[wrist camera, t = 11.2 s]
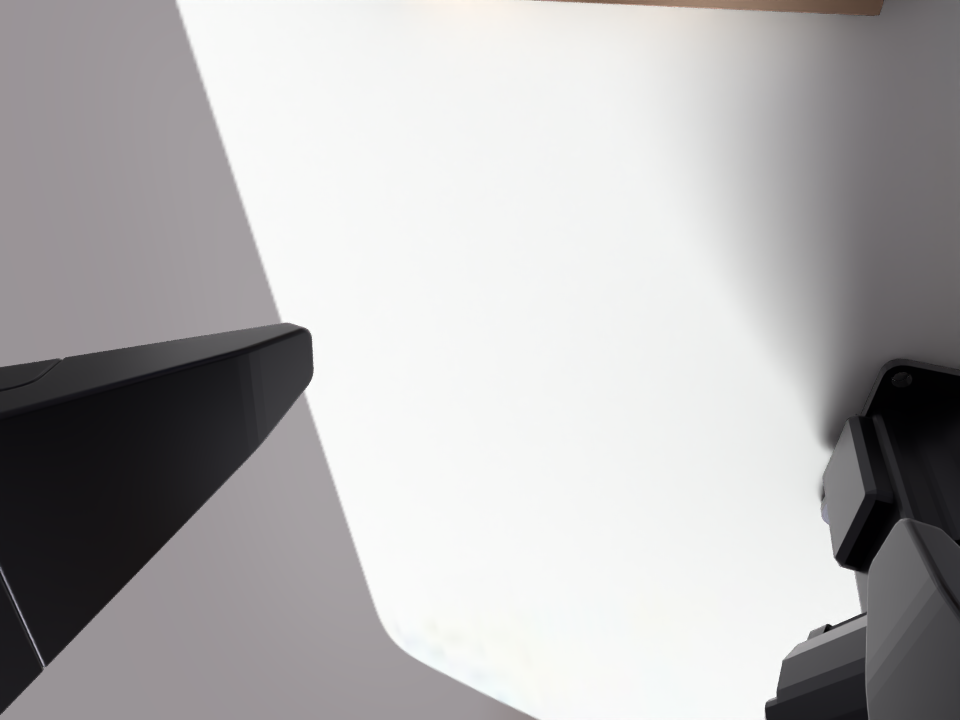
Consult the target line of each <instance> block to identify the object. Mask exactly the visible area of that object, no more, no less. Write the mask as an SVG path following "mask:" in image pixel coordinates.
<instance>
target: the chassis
mask: <svg viewBox="0 0 960 720" xmlns="http://www.w3.org/2000/svg"><path fill="white" fill-rule="evenodd" d="M536 1H558V2H580V3H602V4H624V5H646V6H668V7H691V8H713V9H735V10H757V11H779V12H801V13H823V14H846V15H868V16H875V15H879V14H880V11H881V8H882V5H883V2H884V0H536Z"/></svg>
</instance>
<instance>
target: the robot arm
mask: <svg viewBox="0 0 960 720" xmlns="http://www.w3.org/2000/svg"><path fill="white" fill-rule="evenodd" d="M313 371H314V368H313V349H312V336H311V333H310V331H309V330H308V329H306V328H304V327H301V326H298V325H294V324H291V323H280V324H274V325H268V326H261V327H255V328H249V329H242V330H236V331H230V332H223V333H217V334H211V335H204V336H198V337H192V338H186V339H179V340H173V341H166V342H160V343H154V344H148V345H141V346H135V347H128V348H122V349H116V350H109V351H103V352H97V353H90V354H84V355H78V356H72V357H66V358H64V359H63V360H61V359H52V360H45V361H39V362H32V363H27V364H19V365H12V366H5V367H0V715H1V714H2V713H3V712H4V711H5V710H6V708H8V706H10V705H11V703H12V702H13V701H14V700H15V699H16V698H17V697H18V696H19V695H20V694H21V693H22V692H23V691H24V690H25V689H26V688H27V687H28V686H29V685H30V684H31V683H32V682H33V681H34V680H35V679H36V678H37V677H38V676H39V675H40V673H42V671H43V667H46V666H48V665H49V664H50V663H51V662H52V661H53V660H54V659H55V658H56V656H57V655H58V654H59V653H60V652H61V651H62V650H63V649H64V648H65V647H66V646H67V645H68V644H69V643H70V642H71V641H72V640H73V639H74V638H75V637H76V636H77V635H78V634H79V633H80V632H81V631H82V630H83V628H85V627H86V626H87V624H88V623H89V622H90V621H91V620H92V619H93V618H94V617H95V616H96V615H97V614H98V613H99V612H100V611H101V610H102V609H103V608H104V607H105V606H106V605H107V604H108V603H109V602H110V601H111V600H112V599H113V597H115V595H117V593H119V592H120V590H121V589H122V588H123V587H124V586H125V585H126V584H127V583H128V582H129V581H130V580H131V579H132V578H133V577H134V576H135V575H136V574H137V573H138V572H139V571H140V570H141V569H142V568H143V567H144V566H145V565H146V564H147V563H148V561H149V560H150V559H151V558H152V557H153V556H154V555H155V554H156V553H157V552H158V551H159V550H160V549H161V548H162V547H163V546H164V545H165V544H166V543H167V542H168V541H169V540H170V538H172V537H173V536H174V535H175V533H177V532H178V530H180V529H181V528H182V526H183V525H184V524H185V523H186V522H187V521H188V520H189V519H190V518H191V517H192V516H193V515H194V514H195V513H196V512H197V511H198V510H199V509H200V508H201V507H202V506H203V505H204V504H205V503H206V502H207V501H208V500H209V499H210V497H212V496H213V494H214V493H215V492H216V491H217V490H218V489H219V488H220V487H221V486H222V485H223V484H224V483H225V482H226V481H227V480H228V479H229V478H230V477H231V476H232V475H233V474H234V473H235V472H236V471H237V470H238V468H240V467H241V465H243V463H244V462H245V461H246V460H247V459H248V458H249V457H250V456H251V455H252V454H253V453H254V452H255V451H256V450H257V449H258V448H259V446H260V445H261V444H262V443H263V442H264V440H265V439H266V438H267V437H268V436H269V434H270V433H271V432H272V431H273V429H274V428H275V427H276V426H277V424H278V423H279V422H280V420H281V419H282V418H283V417H284V415H285V414H286V413H287V412H288V410H289V409H290V408H291V406H292V405H293V404H294V403H295V401H296V400H297V399H298V397H299V396H300V395H301V394H302V393H303V391H304V390H305V389H306V387H307V386H308V385H309V383H310V381H311V379H312V376H313ZM897 373H908V374H909V376H908V378H907V379H905V380H903V381H895V380H893V379H892V377H893V376H894V375H895V374H897ZM823 483H824V490H825V497H824V499H823V501H822V504H821V515H822V518H823V520H824V521H825V522H826V523H827V524H829V526H830V533H831V540H832V547H833V555H834V558H835V560H836V561H837V563H838V564H839V566H840V567H843V568H846V569H850V570H853V571H854V572H855V578H856V583H857V589H858V595H859V600H860V606H861V612H862V614H860V615H858V616H855V617H853V618H851V619H848V620H846V621H844V622H841V623H839V624H837V625H835V626H831V625H830V624H826V625H824V626H822V627H819V628H817V629H815V630H813V631H811V632H810V634H809V636H808V639H807V641H805V642H802V643H800V644H798V645H797V646H796V647H795V648H794V649H793V650H792V651H791V652H790V653H789V654H788V656H787V657H786V658H785V659H784V660H783V662H782V667H781V672H780V677H779V682H778V686H777V697H775V698H773V699H770V700H768V701H767V702H766V705H765V720H960V370H957V369H952V368H947V367H942V366H937V365H932V364H927V363H922V362H917V361H911V360H906V359H896V360H892V361H890V362H888V363H887V364H885V365H884V366H883V367H882V369H881V370H880V373H879V375H878V377H877V379H876V382H875V384H874V386H873V388H872V391H871V393H870V395H869V397H868V400H867V402H866V404H865V406H864V409H863V411H862V413H861V415H855V416H853V417H851V418H849V419H847V421H846V424H845V426H844V428H843V431H842V433H841V435H840V437H839V440H838V442H837V444H836V447H835V449H834V451H833V454H832V456H831V458H830V461H829V463H828V465H827V468H826V470H825V472H824V475H823Z"/></svg>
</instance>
